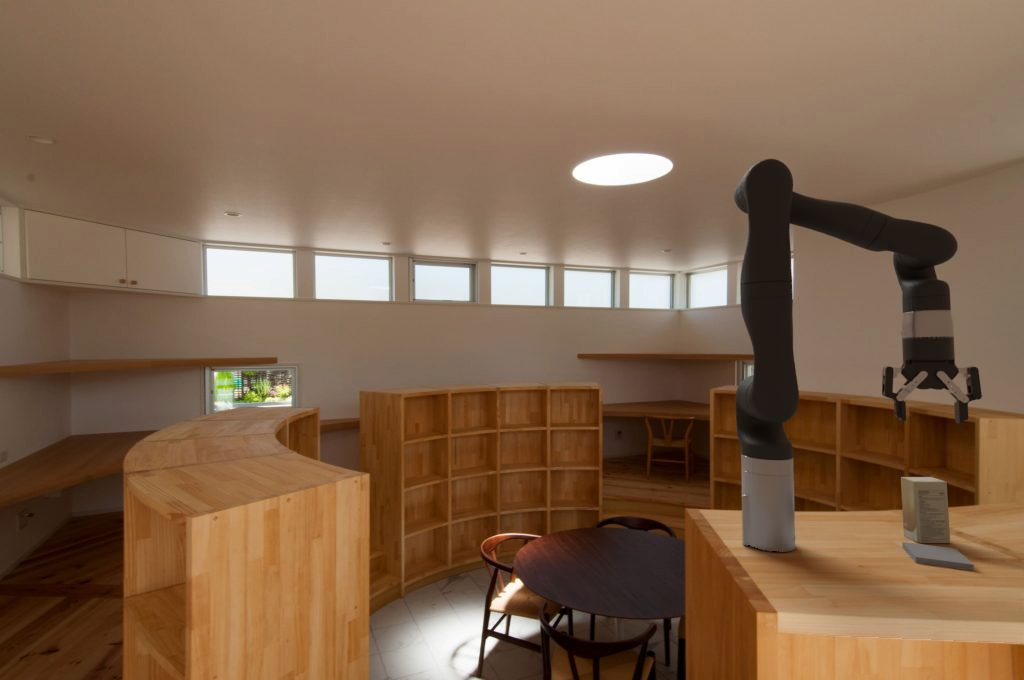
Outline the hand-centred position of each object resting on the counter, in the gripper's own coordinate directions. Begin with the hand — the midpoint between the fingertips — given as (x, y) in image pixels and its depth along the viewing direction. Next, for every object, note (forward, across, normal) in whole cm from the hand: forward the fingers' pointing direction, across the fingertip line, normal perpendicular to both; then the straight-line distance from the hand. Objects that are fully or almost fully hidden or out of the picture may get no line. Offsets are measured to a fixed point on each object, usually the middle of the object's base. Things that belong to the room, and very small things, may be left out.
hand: (930, 421), depth 93 cm
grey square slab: (+25, 0, -2) cm, 25 cm away
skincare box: (+25, +1, +9) cm, 27 cm away
